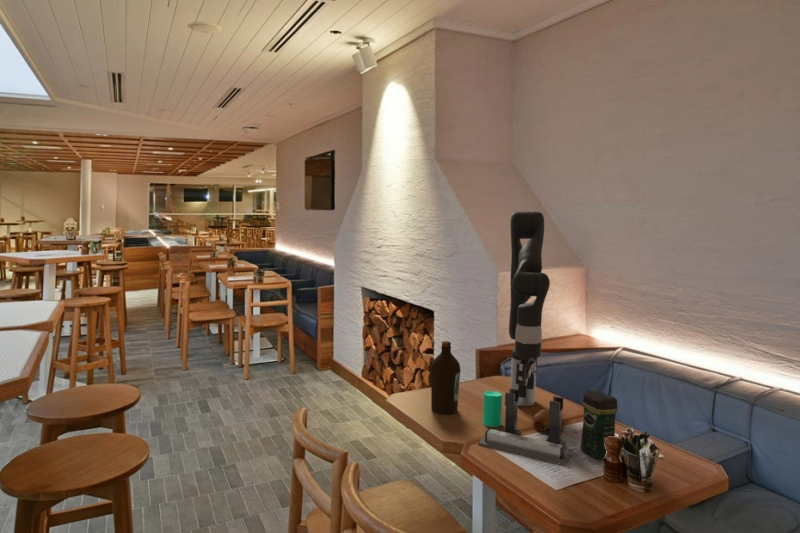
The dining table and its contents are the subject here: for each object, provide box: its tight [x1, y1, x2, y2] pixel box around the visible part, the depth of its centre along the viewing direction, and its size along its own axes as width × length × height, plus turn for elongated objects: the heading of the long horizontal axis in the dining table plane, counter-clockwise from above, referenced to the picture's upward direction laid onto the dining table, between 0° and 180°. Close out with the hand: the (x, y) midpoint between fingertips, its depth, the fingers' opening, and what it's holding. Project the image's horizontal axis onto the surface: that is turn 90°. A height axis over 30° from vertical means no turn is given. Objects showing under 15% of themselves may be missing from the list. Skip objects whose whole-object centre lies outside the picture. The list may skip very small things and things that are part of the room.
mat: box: [478, 436, 571, 466], centre depth 157 cm, size 7×26×1 cm, turn 61°
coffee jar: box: [580, 389, 618, 460], centre depth 155 cm, size 10×8×19 cm
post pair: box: [501, 387, 566, 445], centre depth 165 cm, size 6×19×14 cm, turn 61°
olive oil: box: [430, 340, 461, 415], centre depth 188 cm, size 11×11×25 cm
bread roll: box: [532, 409, 565, 435], centre depth 174 cm, size 10×10×8 cm
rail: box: [484, 427, 566, 459], centre depth 157 cm, size 3×23×3 cm, turn 61°
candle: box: [482, 388, 503, 428], centre depth 176 cm, size 6×6×12 cm
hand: (526, 392), depth 155 cm, fingers open, 8 cm apart
